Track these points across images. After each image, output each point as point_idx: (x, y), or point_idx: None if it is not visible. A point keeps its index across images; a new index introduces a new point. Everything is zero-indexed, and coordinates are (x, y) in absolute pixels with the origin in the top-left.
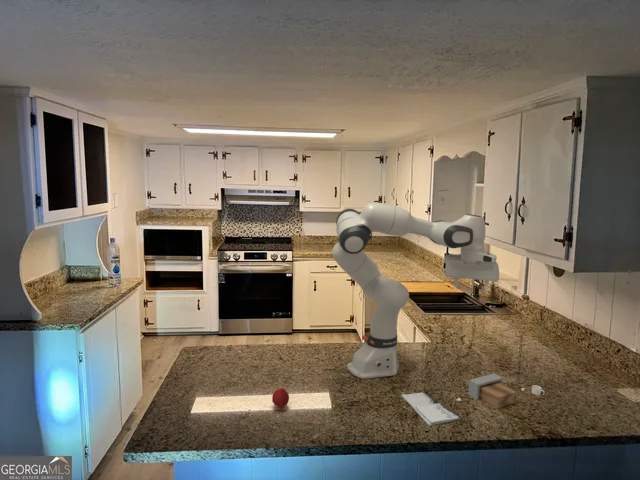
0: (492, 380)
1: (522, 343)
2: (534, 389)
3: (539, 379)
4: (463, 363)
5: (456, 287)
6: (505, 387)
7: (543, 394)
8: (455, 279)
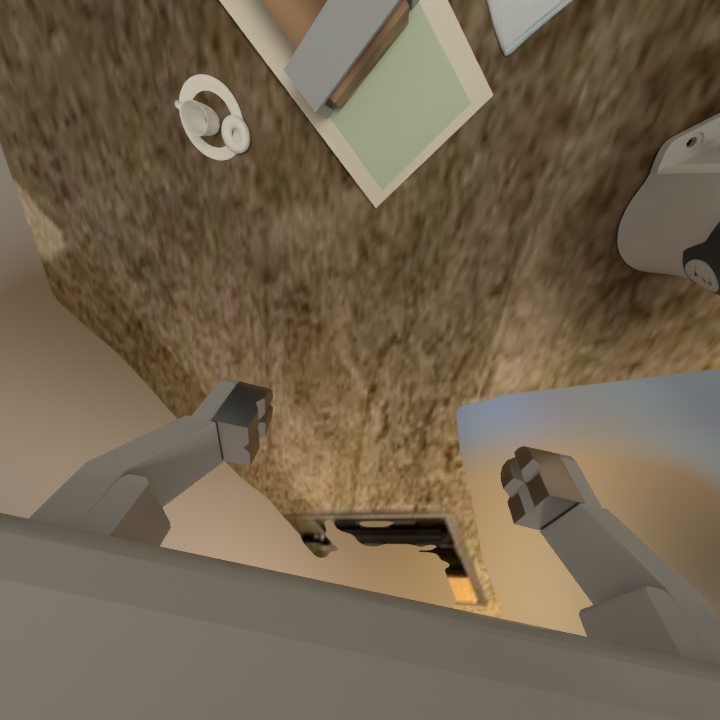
0: (322, 10)
1: None
2: (199, 103)
3: (217, 250)
4: (398, 300)
5: (574, 461)
6: (276, 4)
7: (181, 102)
8: (680, 605)
